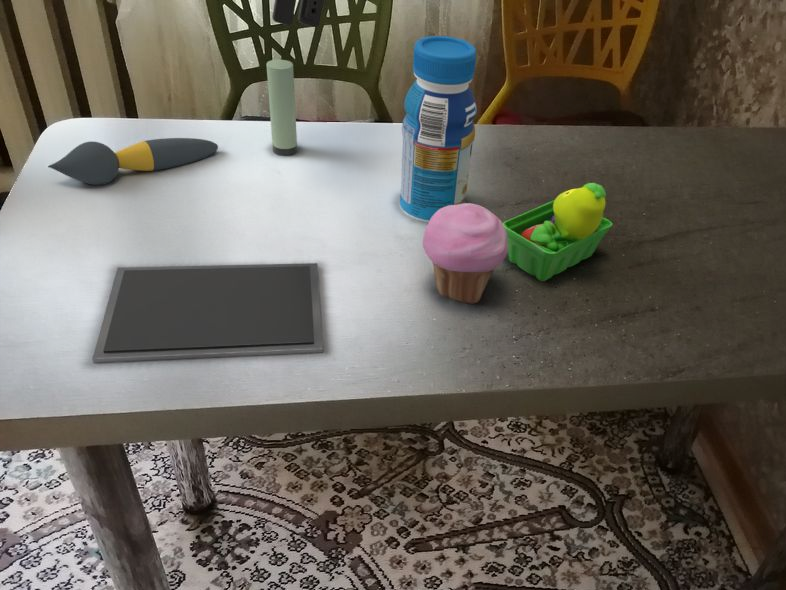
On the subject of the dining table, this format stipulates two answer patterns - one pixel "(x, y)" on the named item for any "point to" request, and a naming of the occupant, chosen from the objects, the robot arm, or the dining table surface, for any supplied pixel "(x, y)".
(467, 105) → the beverage bottle
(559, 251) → the fruit basket
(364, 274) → the dining table surface
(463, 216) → the cupcake
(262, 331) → the tablet
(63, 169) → the paintbrush
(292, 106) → the mint green cylinder
